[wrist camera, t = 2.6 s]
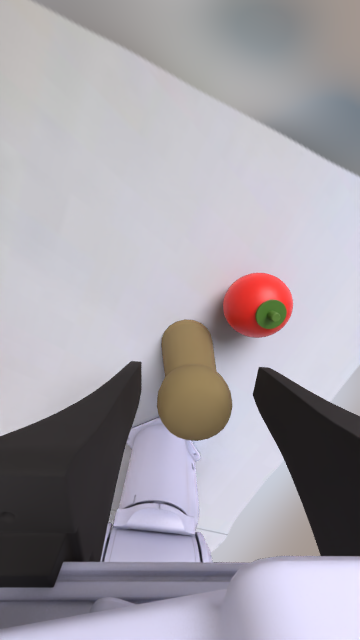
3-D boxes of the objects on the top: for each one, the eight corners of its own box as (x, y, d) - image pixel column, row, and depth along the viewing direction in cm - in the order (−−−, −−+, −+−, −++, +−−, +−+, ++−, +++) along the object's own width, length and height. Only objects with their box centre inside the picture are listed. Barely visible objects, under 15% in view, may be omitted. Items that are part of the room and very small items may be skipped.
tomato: (278, 310, 21) (324, 334, 14) (229, 333, 22) (251, 364, 15) (261, 260, 19) (305, 261, 13) (208, 286, 20) (224, 300, 13)
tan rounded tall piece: (178, 309, 21) (180, 362, 10) (222, 335, 22) (265, 407, 11) (152, 351, 22) (130, 434, 12) (194, 373, 23) (209, 468, 13)
